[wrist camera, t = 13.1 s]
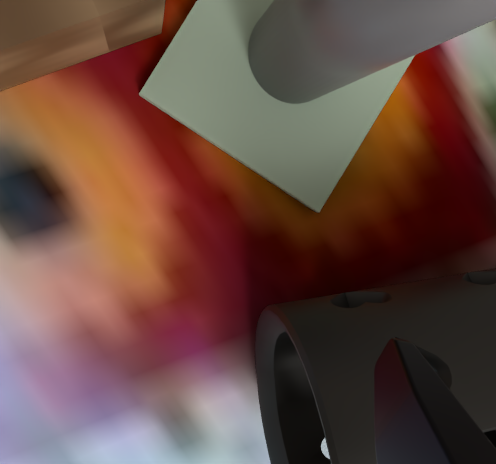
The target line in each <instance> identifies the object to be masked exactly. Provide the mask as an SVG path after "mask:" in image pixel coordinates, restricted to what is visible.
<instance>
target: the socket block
mask: <svg viewBox="0 0 496 464" xmlns="http://www.w3.org/2000/svg"><path fill="white" fill-rule="evenodd" d="M164 8H165V0H0V91H2V90H5V89H8V88H10V87H13V86H16V85H19V84H22V83H24V82H27V81H30V80H33V79H36V78H38V77H41V76H44V75H47V74H49V73H52V72H55V71H58V70H61V69H63V68H66V67H69V66H72V65H74V64H77V63H80V62H83V61H86V60H88V59H91V58H94V57H97V56H99V55H102V54H105V53H108V52H111V51H113V50H116V49H119V48H122V47H125V46H127V45H130V44H133V43H136V42H138V41H141V40H144V39H147V38H150V37H152V36H155V35H158V34H161V33H162V25H163V16H164Z"/></svg>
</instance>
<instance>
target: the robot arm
mask: <svg viewBox="0 0 496 464" xmlns="http://www.w3.org/2000/svg"><path fill="white" fill-rule="evenodd" d="M374 426H375V449H376V459H377V464H496V448H495V447H494V445H493V444H492V443H491V441H490V440H489V439H488V438H487V436H486V435H485V434H484V433H483V431H482V430H481V429H480V428H479V426H478V425H477V424H476V422H475V421H474V420H473V419H472V417H471V416H470V415H469V414H468V412H467V411H466V410H465V408H464V407H463V406H462V405H461V403H460V402H459V401H458V400H457V398H456V397H455V396H454V394H453V393H452V392H451V391H450V389H449V388H448V387H447V386H446V384H445V383H444V382H443V381H442V379H441V378H440V377H439V375H438V374H437V373H436V372H435V370H434V369H433V368H432V367H431V365H430V364H429V363H428V361H427V360H426V359H425V358H424V356H423V355H422V354H421V353H420V351H419V350H418V349H417V347H416V346H415V345H414V344H413V343H412V342H410V341H407V340H403V339H398V338H392V339H390V340H389V341H388V343H387V344H386V346H385V348H384V350H383V351H382V353H381V355H380V356H379V358H378V360H377V362H376V364H375V369H374Z"/></svg>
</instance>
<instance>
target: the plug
mask: <svg viewBox="0 0 496 464" xmlns="http://www.w3.org/2000/svg"><path fill="white" fill-rule="evenodd" d="M495 19H496V0H274V1H273V2H272V4H271V5H270V6H269V8H268V9H267V10H266V11H265V13H264V14H263V15H262V17H261V18H260V19H259V20H258V22H257V23H256V25H255V27H254V29H253V31H252V33H251V36H250V40H249V47H248V57H249V63H250V67H251V70H252V73H253V75H254V77H255V79H256V81H257V82H258V84H259V85H260V86H261V87H262V88H263V90H264V91H265V92H267V93H268V94H269V95H270V96H272V97H274V98H275V99H277V100H279V101H282V102H285V103H291V104H301V103H306V102H309V101H312V100H314V99H316V98H318V97H321V96H323V95H325V94H328V93H330V92H332V91H334V90H337V89H339V88H341V87H343V86H346V85H348V84H350V83H352V82H355V81H357V80H359V79H361V78H364V77H366V76H368V75H371V74H373V73H375V72H377V71H380V70H382V69H384V68H386V67H389V66H391V65H393V64H395V63H398V62H400V61H402V60H404V59H407V58H409V57H411V56H413V55H416V54H418V53H420V52H423V51H425V50H427V49H429V48H432V47H434V46H436V45H438V44H441V43H443V42H445V41H447V40H450V39H452V38H454V37H456V36H459V35H461V34H463V33H466V32H468V31H470V30H472V29H475V28H477V27H479V26H481V25H484V24H486V23H488V22H490V21H493V20H495Z"/></svg>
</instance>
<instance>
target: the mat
mask: <svg viewBox="0 0 496 464" xmlns="http://www.w3.org/2000/svg"><path fill="white" fill-rule="evenodd" d="M273 1H274V0H197V1H196V3H195V5H194V6H193V8H192V9H191V11H190V13H189V14H188V16H187V18H186V19H185V21H184V22H183V24H182V26H181V27H180V29H179V30H178V32H177V34H176V35H175V37H174V38H173V40H172V42H171V43H170V45H169V46H168V48H167V50H166V51H165V53H164V54H163V56H162V58H161V59H160V61H159V62H158V64H157V66H156V67H155V69H154V71H153V72H152V74H151V75H150V77H149V79H148V80H147V82H146V83H145V85H144V87H143V88H142V90H141V91H140V93H139V96H141V97H142V98H144V99H145V100H147V101H148V102H150V103H152V104H153V105H155V106H156V107H158V108H159V109H161V110H162V111H164V112H165V113H167V114H168V115H170V116H171V117H173V118H174V119H176V120H177V121H179V122H180V123H182V124H183V125H185V126H186V127H188V128H189V129H191V130H192V131H194V132H195V133H197V134H198V135H200V136H201V137H203V138H204V139H206V140H207V141H209V142H210V143H212V144H213V145H215V146H216V147H218V148H219V149H221V150H222V151H224V152H225V153H227V154H228V155H230V156H231V157H233V158H234V159H236V160H237V161H239V162H240V163H242V164H243V165H245V166H246V167H248V168H249V169H251V170H252V171H254V172H256V173H257V174H259V175H260V176H262V177H263V178H265V179H266V180H268V181H269V182H271V183H272V184H274V185H275V186H277V187H278V188H280V189H281V190H283V191H284V192H286V193H287V194H289V195H290V196H292V197H293V198H295V199H296V200H298V201H299V202H301V203H302V204H304V205H305V206H307V207H308V208H310V209H311V210H313V211H314V212H318V213H319V212H320V210H321V209H322V207H323V205H324V204H325V202H326V201H327V199H328V197H329V196H330V194H331V192H332V191H333V189H334V187H335V186H336V184H337V182H338V181H339V179H340V178H341V176H342V174H343V173H344V171H345V169H346V168H347V166H348V164H349V163H350V161H351V159H352V158H353V156H354V155H355V153H356V151H357V150H358V148H359V146H360V145H361V143H362V141H363V140H364V138H365V136H366V135H367V133H368V132H369V130H370V128H371V127H372V125H373V123H374V122H375V120H376V118H377V117H378V115H379V113H380V112H381V110H382V109H383V107H384V105H385V104H386V102H387V100H388V99H389V97H390V95H391V94H392V92H393V91H394V89H395V87H396V86H397V84H398V82H399V81H400V79H401V77H402V76H403V74H404V72H405V71H406V69H407V68H408V66H409V64H410V63H411V61H412V59H413V58H414V56H415V55H413V56H411V57H409V58H407V59H404V60H402V61H400V62H398V63H395V64H393V65H391V66H389V67H386V68H384V69H382V70H380V71H377V72H375V73H373V74H371V75H368V76H366V77H364V78H361V79H359V80H357V81H355V82H352V83H350V84H348V85H346V86H343V87H341V88H339V89H337V90H334V91H332V92H330V93H328V94H325V95H323V96H321V97H318V98H316V99H314V100H312V101H309V102H306V103H301V104H291V103H285V102H282V101H279V100H277V99H275V98H274V97H272V96H270V95H269V94H268V93H267V92H265V91H264V90H263V88H262V87H261V86H260V85H259V84H258V82H257V81H256V79H255V77H254V75H253V73H252V70H251V67H250V63H249V57H248V47H249V40H250V36H251V33H252V31H253V29H254V27H255V25H256V23H257V22H258V20H259V19H260V18H261V17H262V15H263V14H264V13H265V11H266V10H267V9H268V8H269V6H270V5H271V4H272V2H273Z"/></svg>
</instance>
